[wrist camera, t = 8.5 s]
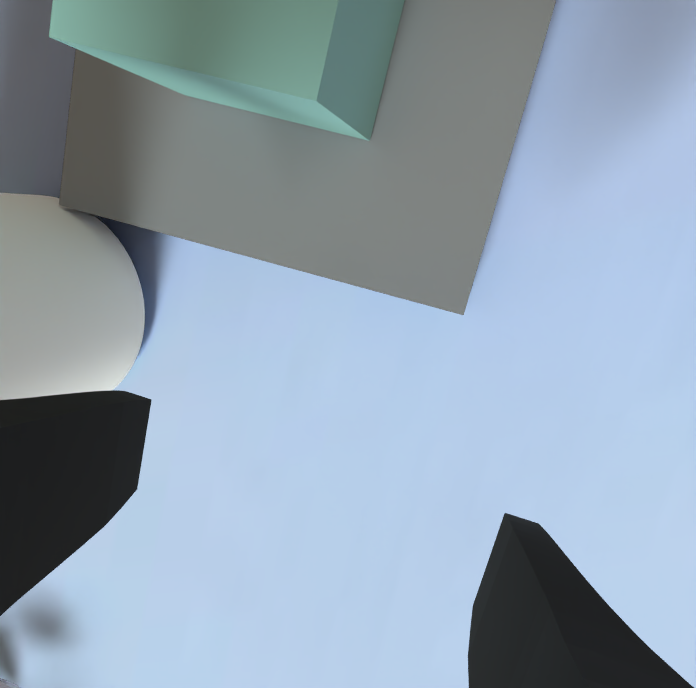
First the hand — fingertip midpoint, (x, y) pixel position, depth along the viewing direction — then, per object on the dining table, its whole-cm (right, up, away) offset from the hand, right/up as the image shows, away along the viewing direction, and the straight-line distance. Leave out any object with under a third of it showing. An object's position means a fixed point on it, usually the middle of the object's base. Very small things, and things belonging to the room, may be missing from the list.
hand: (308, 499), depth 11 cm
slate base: (0, +13, +8) cm, 15 cm away
